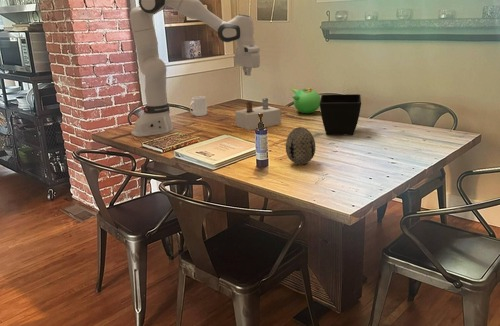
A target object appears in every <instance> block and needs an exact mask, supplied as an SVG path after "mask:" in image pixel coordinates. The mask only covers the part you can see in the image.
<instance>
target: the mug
mask: <svg viewBox="0 0 500 326" xmlns="http://www.w3.org/2000/svg"><path fill="white" fill-rule="evenodd" d="M191 107H192V110H191ZM189 111H190V113H191V114H192V115H193V116H194V117H204V116H207V114H208V106H207V97H206V96H204V95H203V96H202V95H199V96H198V95H196V96H193V97H191V102H190V104H189Z"/></svg>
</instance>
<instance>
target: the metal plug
mask: <svg viewBox="0 0 500 326" xmlns="http://www.w3.org/2000/svg"><path fill="white" fill-rule="evenodd" d="M262 106H263V110H266V109H268V106H269V99H268V97H267V98H265V97H264V98H262Z"/></svg>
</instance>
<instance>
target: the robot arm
mask: <svg viewBox="0 0 500 326" xmlns="http://www.w3.org/2000/svg"><path fill="white" fill-rule="evenodd" d="M138 4H139V6H135V7H133V8H132V9H131V10H130V12H129V19H130V20H129V22H130V27H131V31H132V36H133V39H134V44H135V47H136V53H137V61H138V65H139V70H140V73H141V74H142V75H143V76H144V83H145V84H144V94H145V102H146V105H145V106H144V105H141V106H140V109H141V111H143V113H142V115H140V116H139V117H138V118H137V120H135V123H134V129H133V130H131V132H130V133H131V135H132V136H134V137H138V138H139V137H141V138H143V137H149V136H156V135H164V134H168V133H169V132H172V131H173V130H174V129H175V128H174V126H173V122H172V119H171V116H170V106H169V105H170V104H169V101H168V96H167V66H166V63H165V62H164V61H163V60H162V59H161V58H160V54H159V46H158V45H159V43H158V38H157V34H156V31H155V24H154V21H153V16H154V15H156V14H158V13H160V12H161V11H162V10H164V9H165V8H166V7H169V8H172V9H173V10H174V11H176V12H177V13H179V14H181V15H183V16H184V17H186V18H189V19H192V20H196V21H197V20H198V21H201V22H203V23H204V24H205V25H207V26H208V27H211V28H212V30H213V29H214V30H215V31H216V32H217V37H218V39H219V40H220V41H221V42H223V43H231V42H234V41H235V42H236V49H235V52H234V64H235V66H236V67H237V66H239V67H241V69H242V70H243V75H244V76H248V77H250V76H251V75H252V74H251V72H252V69H256V68H260V66H261V56H260V51H261V49H260V47H259V46H258V45H257V44H255V39H254V34H255V31H254V28H255V27H254V22H253V19H252V17H251V16H250V15H246V14H237V15H236V16H235V17H233V18H231V19H230V20H224V19H222V18H221V17H218V16H217V15H216V14H214V13H213V12H211V11H210V10H209V9H207V7H206V6H205V5H204V4H203V3H202V2H201V1H200V0H138Z"/></svg>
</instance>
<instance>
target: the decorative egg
mask: <svg viewBox="0 0 500 326" xmlns="http://www.w3.org/2000/svg"><path fill="white" fill-rule="evenodd" d="M285 152H286V155H287V157H288V159H289V160H290V161H291V162H292V163H294V164H295V165H306V164H308V163H309V162H310V161H312V159H313V158H314V156H315V154H316V141H315V138H314V135H313V134H312V132H311V131H310V130H309V129H307V128H306V127H304V126H303V127H302V126H300V127H299V126H298V127H296V128H294V129H292V130H291V131H290V132H289V133H288V135H287V138H286V141H285Z"/></svg>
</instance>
